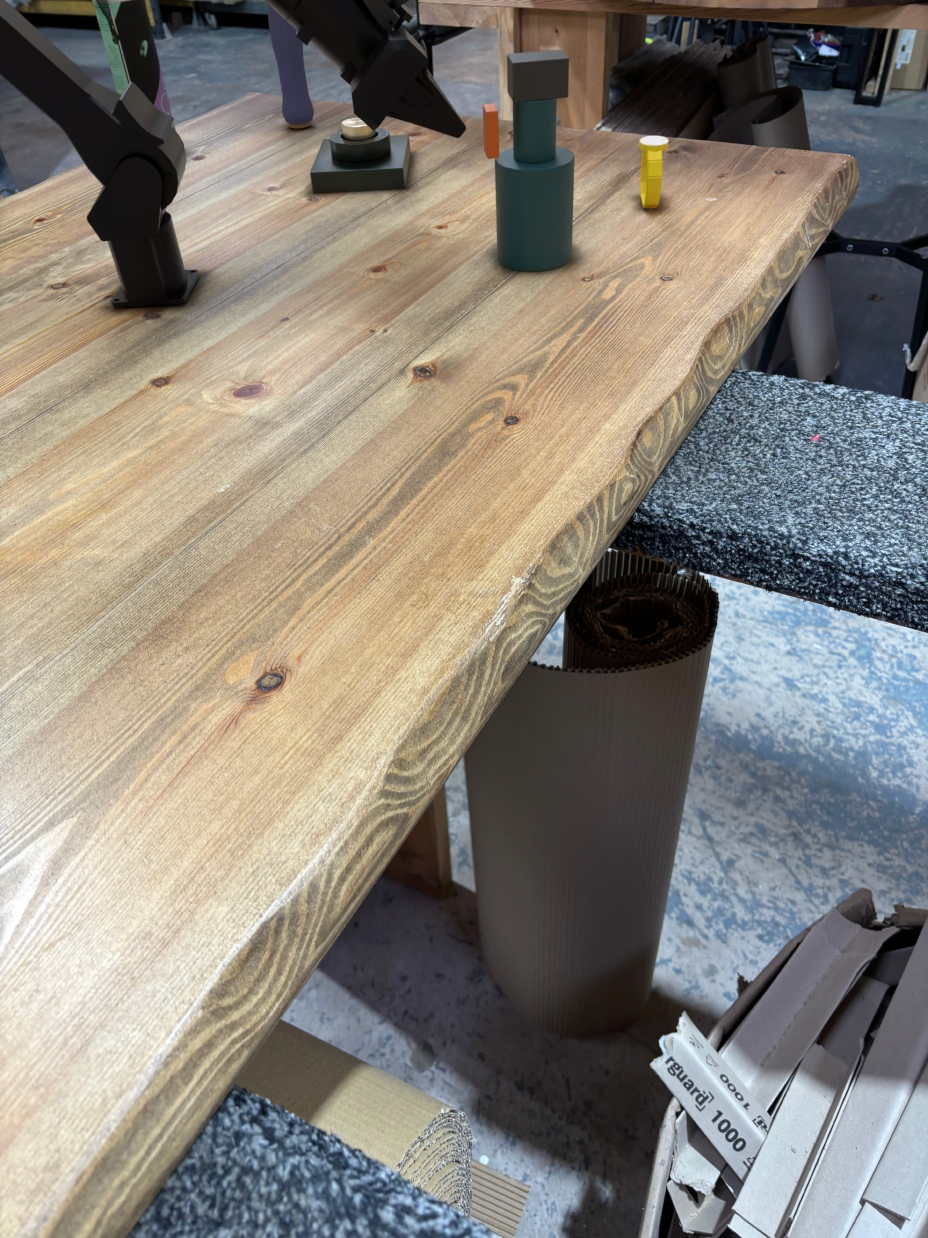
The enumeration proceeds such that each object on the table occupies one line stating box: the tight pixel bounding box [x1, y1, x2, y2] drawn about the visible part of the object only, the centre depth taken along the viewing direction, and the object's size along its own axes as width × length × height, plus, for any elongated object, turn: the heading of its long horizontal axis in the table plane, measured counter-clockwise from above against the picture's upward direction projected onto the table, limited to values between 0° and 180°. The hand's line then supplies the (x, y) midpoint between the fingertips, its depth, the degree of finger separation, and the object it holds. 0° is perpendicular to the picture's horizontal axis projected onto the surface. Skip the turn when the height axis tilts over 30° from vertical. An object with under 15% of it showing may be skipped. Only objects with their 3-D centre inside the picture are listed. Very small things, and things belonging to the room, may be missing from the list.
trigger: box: [482, 102, 500, 160], centre depth 78 cm, size 1×2×4 cm, turn 6°
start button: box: [340, 116, 376, 141], centre depth 102 cm, size 4×4×2 cm
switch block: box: [309, 126, 411, 195], centre depth 103 cm, size 12×10×4 cm
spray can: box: [91, 0, 177, 132], centre depth 106 cm, size 6×6×20 cm
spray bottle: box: [494, 48, 576, 272], centre depth 80 cm, size 7×7×16 cm
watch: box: [638, 135, 670, 209], centre depth 91 cm, size 6×3×6 cm, turn 178°
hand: (462, 132), depth 77 cm, fingers closed
